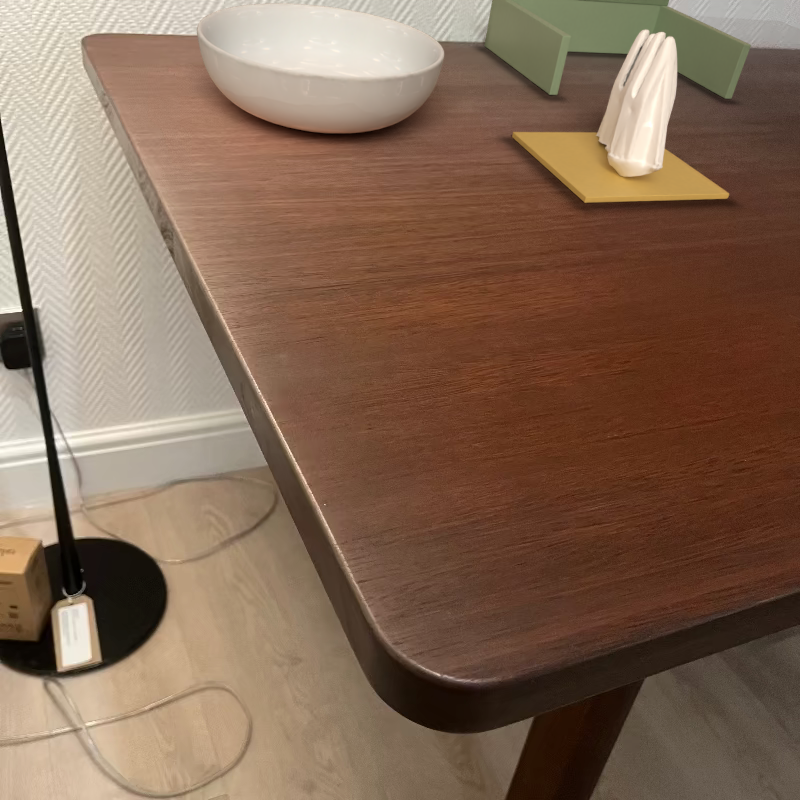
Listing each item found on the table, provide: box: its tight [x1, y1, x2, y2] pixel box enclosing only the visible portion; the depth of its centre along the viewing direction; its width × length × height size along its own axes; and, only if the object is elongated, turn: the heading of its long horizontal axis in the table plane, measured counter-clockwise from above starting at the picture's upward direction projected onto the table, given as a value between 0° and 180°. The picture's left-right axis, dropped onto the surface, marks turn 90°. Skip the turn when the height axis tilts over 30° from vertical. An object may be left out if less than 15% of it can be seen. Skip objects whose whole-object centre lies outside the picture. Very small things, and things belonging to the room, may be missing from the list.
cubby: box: [483, 0, 752, 100], centre depth 95 cm, size 24×18×7 cm
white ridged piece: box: [595, 29, 678, 177], centre depth 68 cm, size 12×4×11 cm, turn 173°
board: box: [511, 131, 730, 204], centre depth 71 cm, size 14×14×1 cm
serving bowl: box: [196, 2, 445, 134], centre depth 71 cm, size 21×21×7 cm
